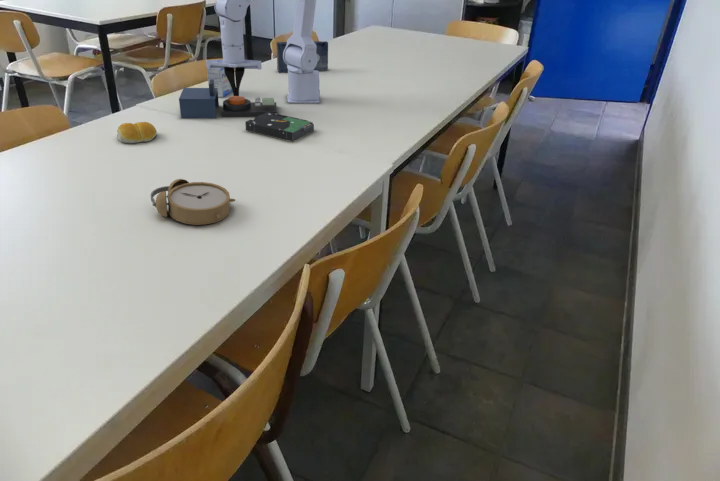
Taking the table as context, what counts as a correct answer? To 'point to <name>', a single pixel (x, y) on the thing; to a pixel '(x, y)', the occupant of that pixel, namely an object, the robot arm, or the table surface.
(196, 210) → the alarm clock
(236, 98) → the equals key
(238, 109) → the control panel
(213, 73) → the medicine box
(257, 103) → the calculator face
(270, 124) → the disk drive
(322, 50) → the vhs cassette tape
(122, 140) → the bread roll
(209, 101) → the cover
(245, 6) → the robot arm
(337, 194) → the table surface
